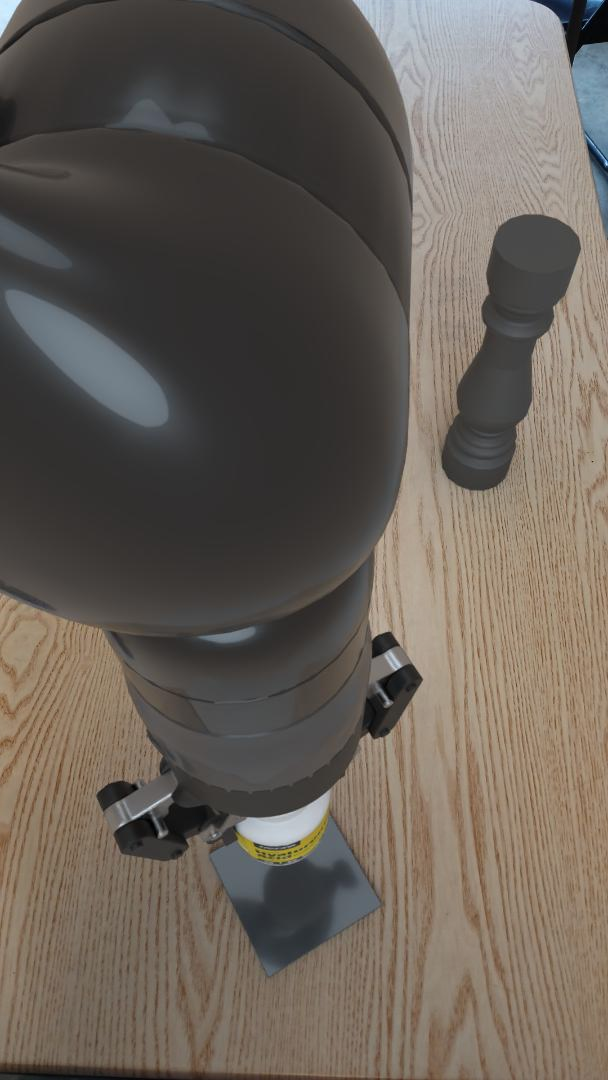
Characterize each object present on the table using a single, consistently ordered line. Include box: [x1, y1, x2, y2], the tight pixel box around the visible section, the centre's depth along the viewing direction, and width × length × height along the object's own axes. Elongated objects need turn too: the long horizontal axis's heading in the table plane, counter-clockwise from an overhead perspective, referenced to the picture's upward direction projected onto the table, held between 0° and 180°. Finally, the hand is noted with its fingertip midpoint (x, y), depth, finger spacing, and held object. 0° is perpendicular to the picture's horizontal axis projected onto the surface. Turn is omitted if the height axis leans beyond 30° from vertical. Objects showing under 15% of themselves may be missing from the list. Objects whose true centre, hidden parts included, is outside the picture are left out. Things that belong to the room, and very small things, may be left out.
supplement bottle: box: [233, 788, 332, 866], centre depth 42 cm, size 5×5×10 cm
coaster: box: [208, 811, 383, 978], centre depth 59 cm, size 9×9×1 cm
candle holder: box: [441, 213, 582, 491], centre depth 66 cm, size 6×6×25 cm
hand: (275, 793), depth 42 cm, fingers closed on supplement bottle, 5 cm apart
